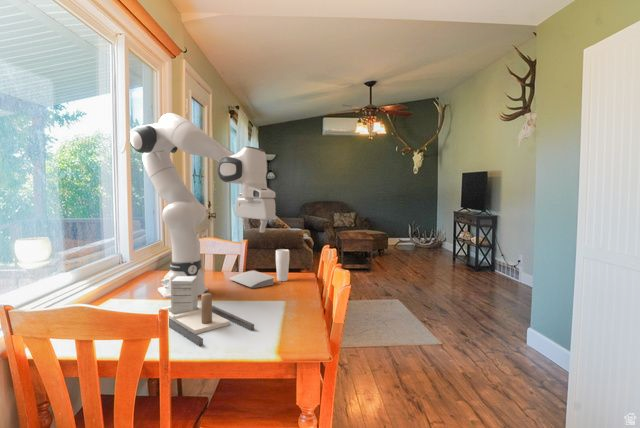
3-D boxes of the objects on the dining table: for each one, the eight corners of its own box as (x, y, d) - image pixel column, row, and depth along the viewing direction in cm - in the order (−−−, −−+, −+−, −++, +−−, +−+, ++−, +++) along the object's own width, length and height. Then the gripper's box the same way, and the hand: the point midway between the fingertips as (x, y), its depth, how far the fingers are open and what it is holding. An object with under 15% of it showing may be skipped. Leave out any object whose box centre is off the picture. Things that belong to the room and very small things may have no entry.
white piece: (287, 282, 178) (287, 251, 177) (273, 281, 179) (273, 250, 178) (290, 279, 185) (291, 249, 184) (277, 278, 186) (278, 248, 185)
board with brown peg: (160, 313, 130) (160, 284, 130) (193, 306, 139) (193, 279, 138) (194, 334, 112) (194, 300, 111) (230, 324, 120) (229, 293, 119)
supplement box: (177, 310, 133) (176, 275, 133) (198, 310, 134) (198, 275, 133) (170, 317, 126) (170, 280, 125) (193, 317, 127) (192, 280, 126)
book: (255, 277, 191) (255, 269, 191) (280, 285, 174) (280, 277, 174) (227, 281, 181) (227, 273, 181) (252, 291, 164) (252, 282, 164)
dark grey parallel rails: (162, 322, 122) (162, 316, 121) (212, 310, 134) (212, 305, 134) (199, 346, 103) (199, 339, 103) (254, 330, 116) (254, 324, 116)
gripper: (231, 192, 138) (231, 229, 138) (263, 192, 123) (263, 234, 124) (245, 192, 142) (245, 228, 143) (278, 192, 127) (278, 232, 128)
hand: (254, 231), depth 133 cm, fingers open, 8 cm apart
